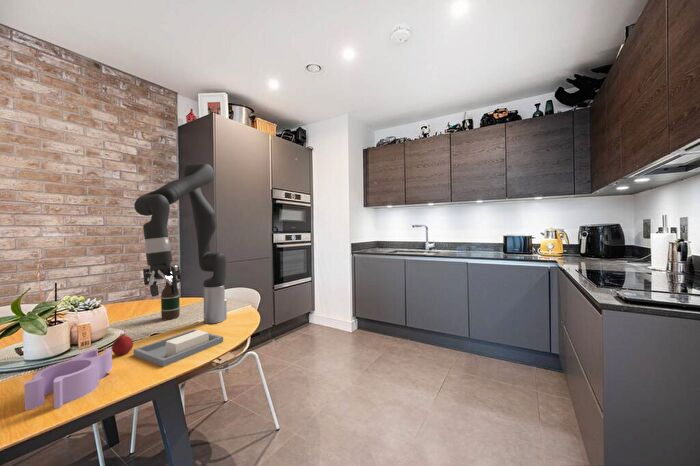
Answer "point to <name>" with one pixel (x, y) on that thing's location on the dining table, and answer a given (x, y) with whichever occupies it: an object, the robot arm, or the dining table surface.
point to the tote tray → (158, 354)
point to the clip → (68, 379)
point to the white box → (186, 342)
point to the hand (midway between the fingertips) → (164, 295)
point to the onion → (122, 345)
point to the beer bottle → (169, 304)
